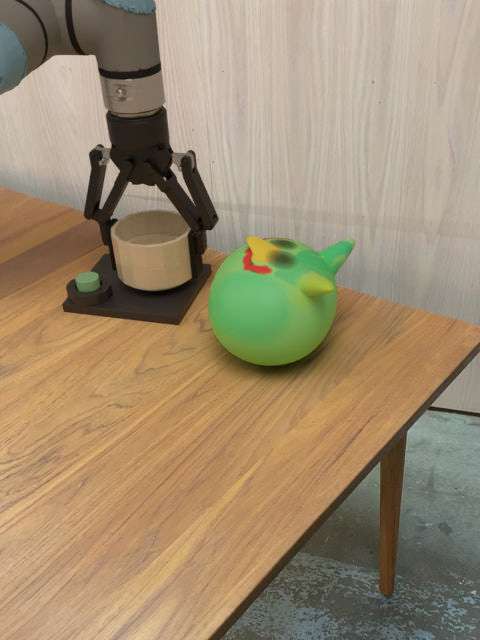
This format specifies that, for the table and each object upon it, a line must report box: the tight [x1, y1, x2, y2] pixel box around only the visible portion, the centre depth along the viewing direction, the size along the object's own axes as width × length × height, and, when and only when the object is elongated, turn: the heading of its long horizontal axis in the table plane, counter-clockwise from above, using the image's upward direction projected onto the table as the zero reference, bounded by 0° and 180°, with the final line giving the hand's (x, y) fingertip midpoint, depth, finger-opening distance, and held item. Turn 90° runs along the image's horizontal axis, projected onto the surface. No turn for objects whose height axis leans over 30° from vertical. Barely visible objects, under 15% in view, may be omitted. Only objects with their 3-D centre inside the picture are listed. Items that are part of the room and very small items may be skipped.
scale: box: [61, 253, 213, 326], centre depth 111 cm, size 17×15×3 cm
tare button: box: [75, 271, 100, 292], centre depth 108 cm, size 3×3×2 cm
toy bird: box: [207, 235, 356, 367], centre depth 96 cm, size 18×17×15 cm
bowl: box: [111, 208, 192, 291], centre depth 109 cm, size 11×11×7 cm
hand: (157, 269), depth 111 cm, fingers closed on bowl, 11 cm apart
